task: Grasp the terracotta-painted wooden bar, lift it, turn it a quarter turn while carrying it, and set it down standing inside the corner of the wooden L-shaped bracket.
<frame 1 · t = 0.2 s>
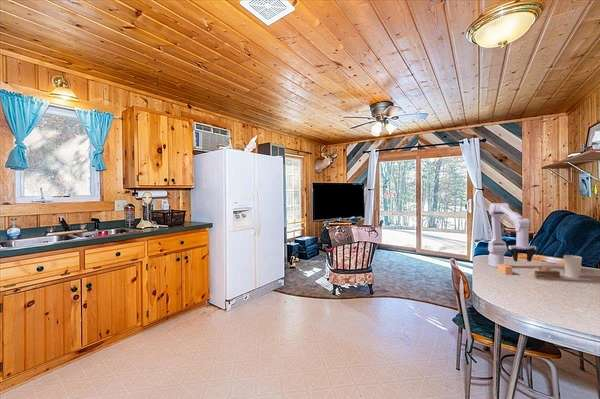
hand: (522, 261, 167), 10 cm above the table, fingers open, 7 cm apart
block: (504, 273, 177), on the table
cup: (572, 276, 168), on the table
wooden l-shaped bracket: (539, 274, 173), on the table
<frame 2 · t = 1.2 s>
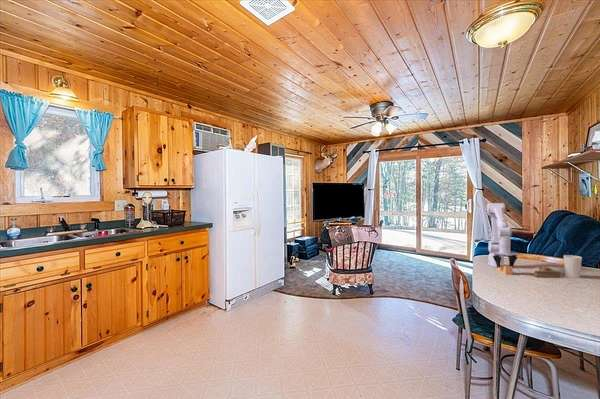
hand: (504, 267, 177), 4 cm above the table, fingers open, 7 cm apart
nothing on the table moved.
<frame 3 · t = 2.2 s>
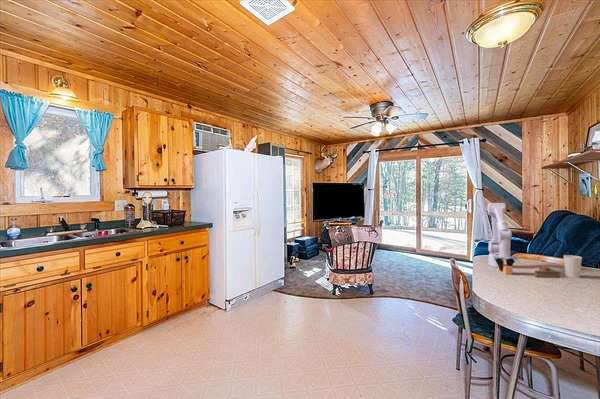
hand: (504, 270, 177), 1 cm above the table, fingers closed on block, 4 cm apart
block: (504, 272, 177), on the table, touching gripper
everything else where it was.
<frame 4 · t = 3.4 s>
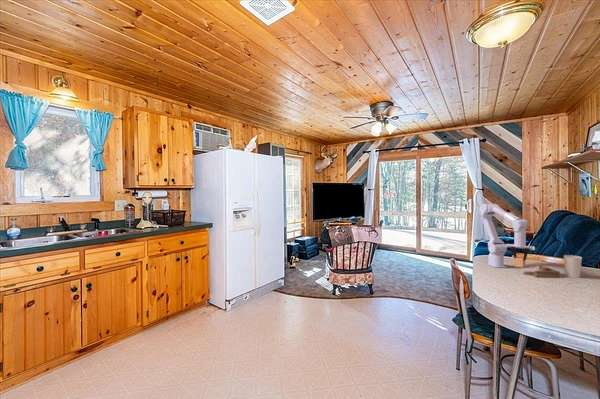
hand: (520, 259, 176), 8 cm above the table, fingers closed on block, 4 cm apart
block: (520, 265, 176), point 5 cm above the table, touching gripper
everything else where it was.
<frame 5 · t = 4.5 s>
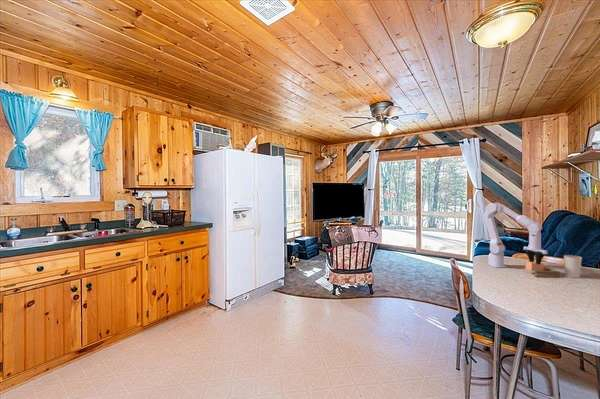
hand: (535, 263, 175), 6 cm above the table, fingers closed on block, 4 cm apart
block: (534, 270, 175), point 2 cm above the table, tilted 5°, touching gripper
everything else where it was.
when the fingers open (3 cm above the table, at t = 5.5 s): block stays where it is, on the table.
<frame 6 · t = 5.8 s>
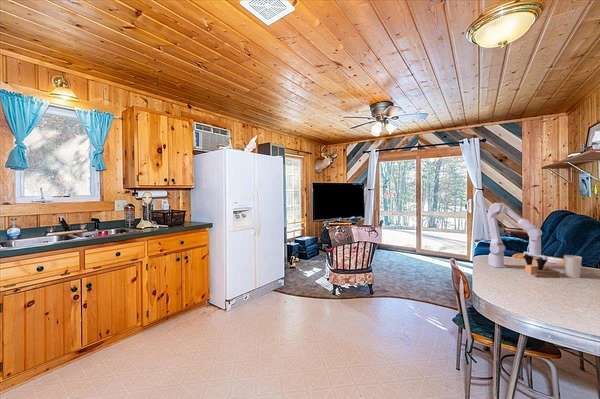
hand: (534, 268, 175), 3 cm above the table, fingers open, 7 cm apart
block: (534, 273, 175), on the table
everything else where it was.
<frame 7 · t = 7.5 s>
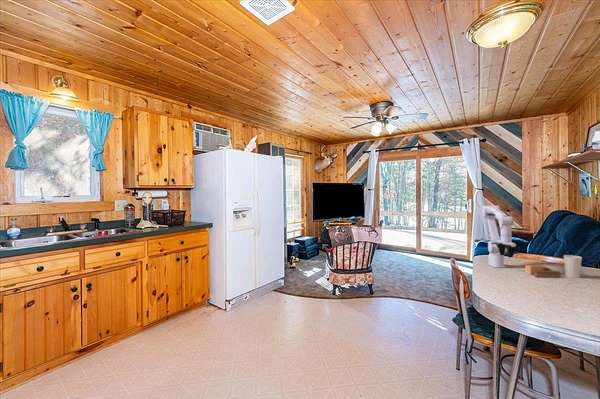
hand: (506, 256, 179), 10 cm above the table, fingers open, 7 cm apart
nothing on the table moved.
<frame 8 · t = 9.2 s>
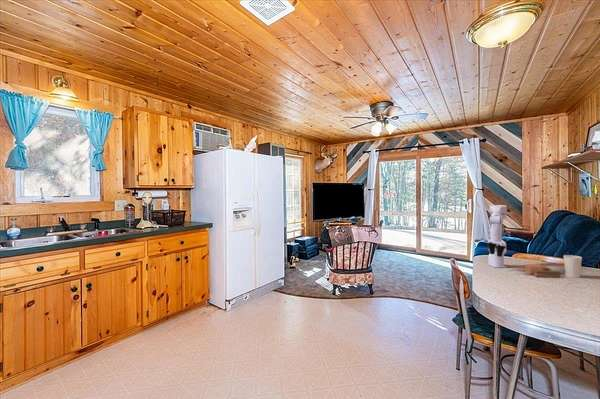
hand: (495, 255, 180), 10 cm above the table, fingers open, 7 cm apart
nothing on the table moved.
at the end: block inside the target area (1.0 cm from its centre), on the table; block tilted 0°; the gripper is holding nothing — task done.
